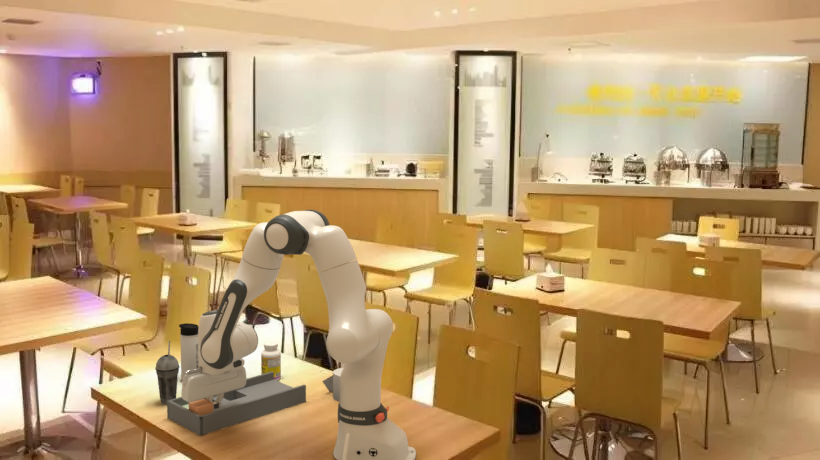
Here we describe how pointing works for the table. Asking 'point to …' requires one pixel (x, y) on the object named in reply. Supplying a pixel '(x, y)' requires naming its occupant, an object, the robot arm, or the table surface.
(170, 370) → the beverage cup
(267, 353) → the supplement bottle
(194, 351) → the travel mug
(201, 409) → the terracotta block
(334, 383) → the toilet tissue
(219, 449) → the table surface
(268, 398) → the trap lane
